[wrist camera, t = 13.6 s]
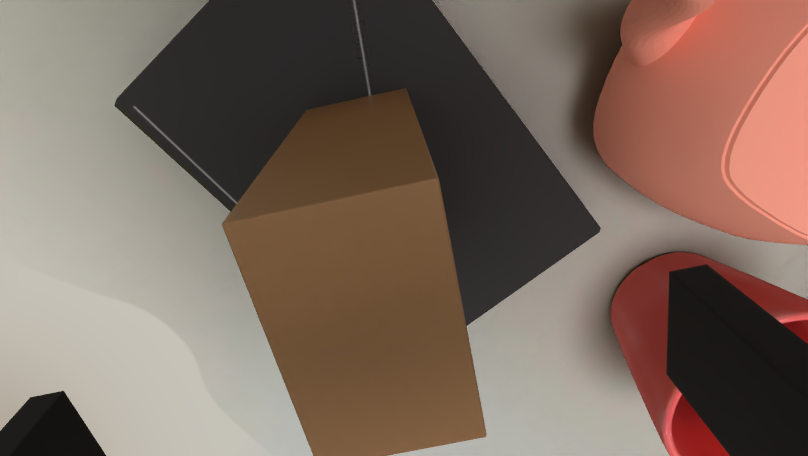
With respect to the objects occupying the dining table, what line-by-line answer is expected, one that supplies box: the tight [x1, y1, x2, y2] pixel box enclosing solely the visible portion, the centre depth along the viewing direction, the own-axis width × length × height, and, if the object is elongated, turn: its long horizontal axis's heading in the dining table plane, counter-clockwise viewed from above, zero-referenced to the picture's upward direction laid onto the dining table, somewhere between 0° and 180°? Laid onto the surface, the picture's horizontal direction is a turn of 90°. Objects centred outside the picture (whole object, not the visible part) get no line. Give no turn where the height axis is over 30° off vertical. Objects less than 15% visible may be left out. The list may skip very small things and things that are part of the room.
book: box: [115, 0, 601, 326], centre depth 27 cm, size 22×15×3 cm
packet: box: [222, 88, 486, 456], centre depth 19 cm, size 8×5×14 cm, turn 12°
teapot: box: [593, 0, 808, 245], centre depth 21 cm, size 13×20×12 cm, turn 61°
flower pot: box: [610, 252, 808, 456], centre depth 29 cm, size 11×11×10 cm
